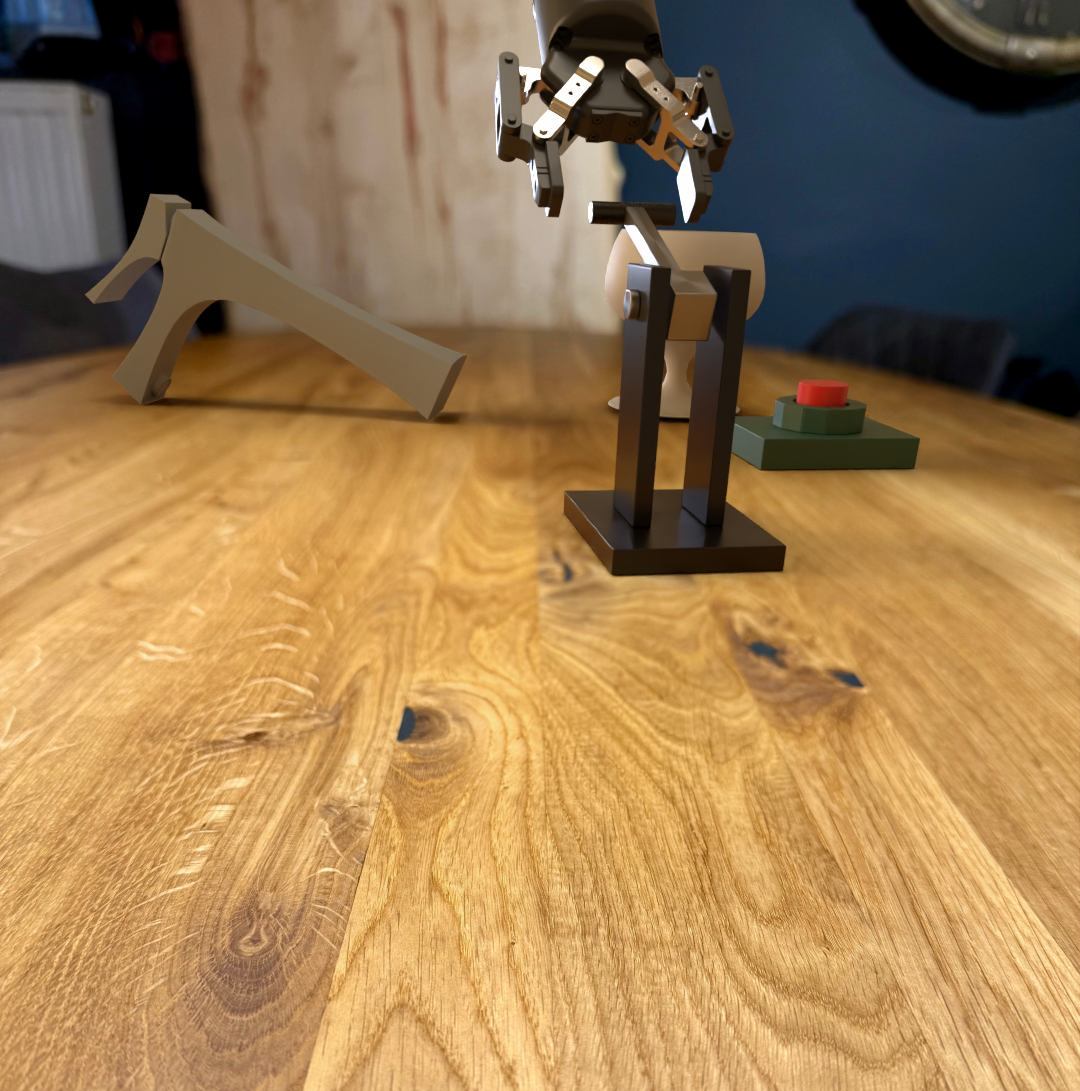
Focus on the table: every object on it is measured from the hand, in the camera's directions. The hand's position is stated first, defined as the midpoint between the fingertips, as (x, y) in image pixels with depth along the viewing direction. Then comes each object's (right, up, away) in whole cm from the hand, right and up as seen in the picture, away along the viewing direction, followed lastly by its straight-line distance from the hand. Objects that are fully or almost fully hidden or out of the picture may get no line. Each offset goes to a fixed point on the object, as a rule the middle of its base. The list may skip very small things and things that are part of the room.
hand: (627, 209), depth 60 cm
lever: (+1, -6, -4) cm, 7 cm away
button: (+16, -7, +17) cm, 24 cm away
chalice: (+7, -2, +35) cm, 36 cm away
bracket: (+2, -20, -4) cm, 20 cm away
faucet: (-27, -3, +30) cm, 41 cm away
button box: (+16, -10, +18) cm, 26 cm away
